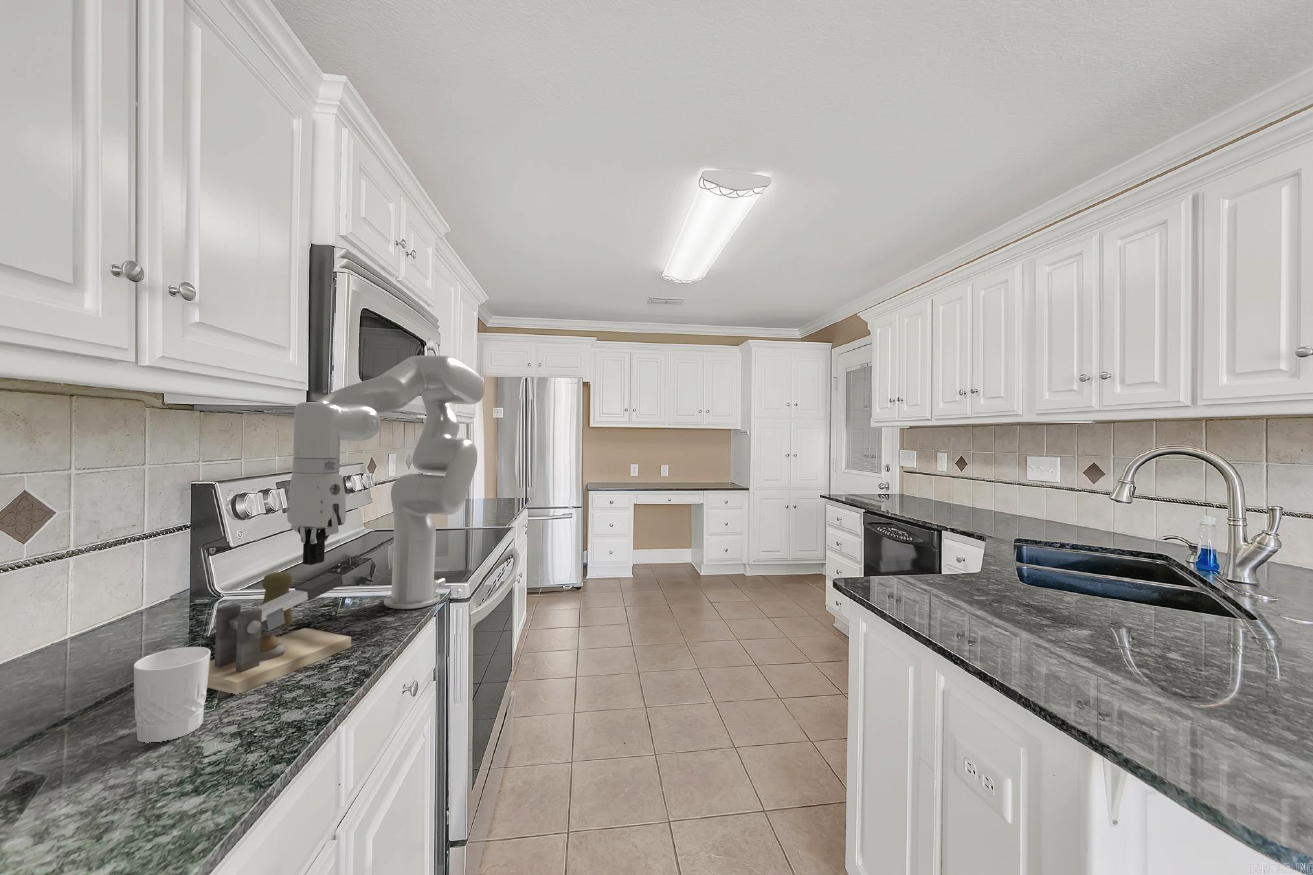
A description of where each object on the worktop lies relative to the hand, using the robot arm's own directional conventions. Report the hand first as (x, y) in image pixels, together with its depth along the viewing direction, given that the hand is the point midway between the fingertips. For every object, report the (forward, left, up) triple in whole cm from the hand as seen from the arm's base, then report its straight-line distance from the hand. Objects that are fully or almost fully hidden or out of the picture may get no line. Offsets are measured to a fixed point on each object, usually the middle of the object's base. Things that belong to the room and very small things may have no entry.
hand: (313, 562), depth 102 cm
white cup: (+27, +8, -17) cm, 33 cm away
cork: (-7, -18, -17) cm, 25 cm away
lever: (+4, 0, -9) cm, 10 cm away
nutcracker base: (+7, 0, -17) cm, 18 cm away
